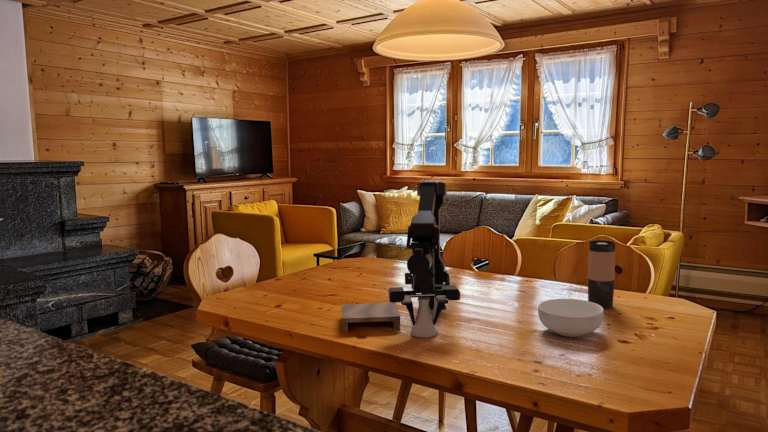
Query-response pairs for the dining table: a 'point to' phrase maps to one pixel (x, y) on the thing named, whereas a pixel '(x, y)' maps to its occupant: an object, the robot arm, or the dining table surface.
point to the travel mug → (601, 273)
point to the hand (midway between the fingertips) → (423, 325)
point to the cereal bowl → (570, 316)
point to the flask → (424, 320)
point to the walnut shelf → (370, 314)
